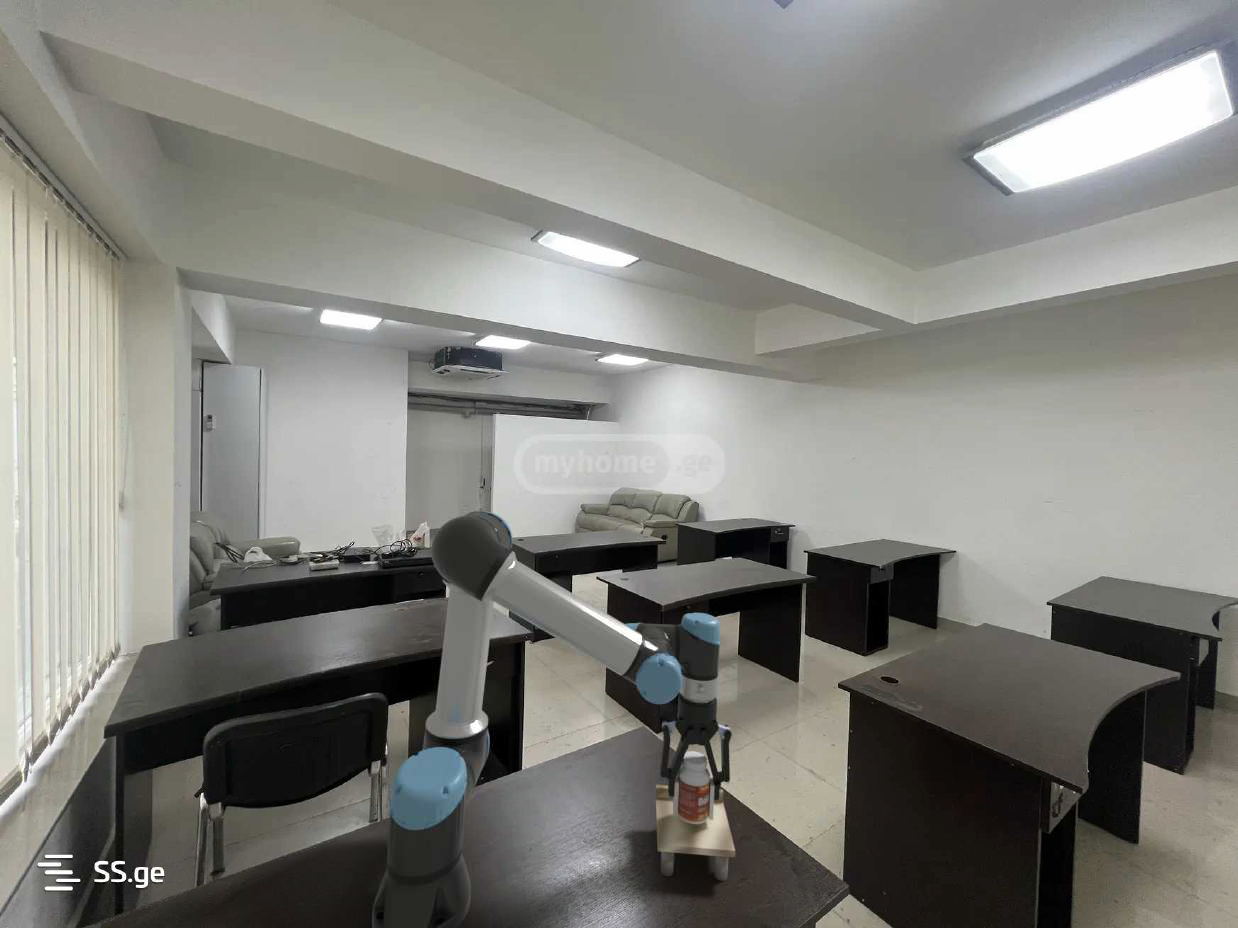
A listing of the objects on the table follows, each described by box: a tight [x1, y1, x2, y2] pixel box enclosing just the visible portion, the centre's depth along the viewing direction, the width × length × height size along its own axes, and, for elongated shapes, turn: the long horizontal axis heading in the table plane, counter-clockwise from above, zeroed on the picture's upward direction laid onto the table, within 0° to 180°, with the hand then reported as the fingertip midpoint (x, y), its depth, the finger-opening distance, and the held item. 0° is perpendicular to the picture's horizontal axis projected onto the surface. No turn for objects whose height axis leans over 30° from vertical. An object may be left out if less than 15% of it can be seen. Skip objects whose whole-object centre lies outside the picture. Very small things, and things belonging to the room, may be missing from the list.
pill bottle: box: [678, 750, 711, 824], centre depth 96 cm, size 6×6×11 cm
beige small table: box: [655, 784, 736, 882], centre depth 96 cm, size 14×14×8 cm
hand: (692, 812), depth 96 cm, fingers closed on pill bottle, 6 cm apart
